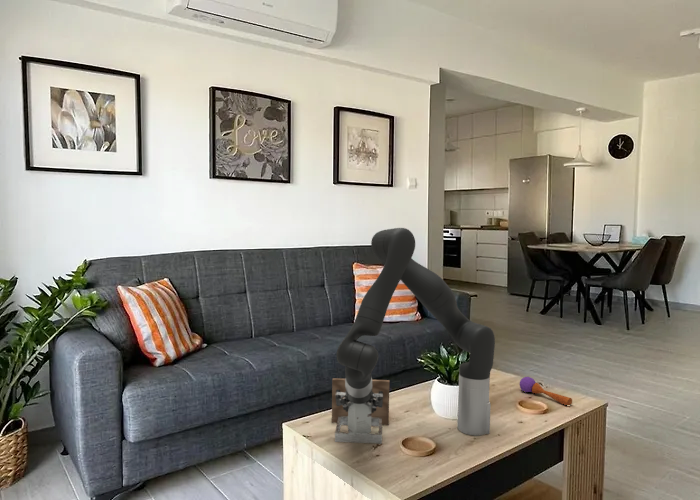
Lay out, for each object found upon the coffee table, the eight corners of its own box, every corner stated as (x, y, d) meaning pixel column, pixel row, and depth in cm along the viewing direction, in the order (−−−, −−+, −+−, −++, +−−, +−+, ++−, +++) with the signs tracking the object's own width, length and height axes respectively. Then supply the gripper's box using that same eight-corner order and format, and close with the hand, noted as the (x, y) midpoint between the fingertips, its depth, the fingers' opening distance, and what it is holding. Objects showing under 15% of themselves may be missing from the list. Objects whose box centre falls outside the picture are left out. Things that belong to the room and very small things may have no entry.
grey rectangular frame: (381, 425, 157) (381, 417, 157) (381, 443, 145) (381, 435, 144) (338, 423, 158) (338, 415, 158) (334, 441, 145) (335, 433, 145)
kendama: (564, 398, 173) (516, 377, 189) (564, 413, 174) (516, 391, 191) (574, 391, 176) (526, 372, 192) (574, 406, 178) (526, 386, 194)
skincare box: (355, 437, 147) (355, 397, 147) (347, 431, 151) (347, 392, 150) (372, 432, 151) (372, 393, 150) (363, 427, 155) (364, 388, 154)
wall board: (388, 419, 162) (389, 376, 161) (388, 424, 157) (389, 381, 156) (333, 417, 163) (333, 374, 162) (331, 422, 159) (332, 379, 158)
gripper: (384, 373, 142) (383, 398, 154) (334, 371, 143) (337, 396, 155) (384, 398, 137) (383, 422, 149) (332, 396, 138) (335, 420, 150)
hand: (359, 409), depth 152 cm, fingers open, 7 cm apart
